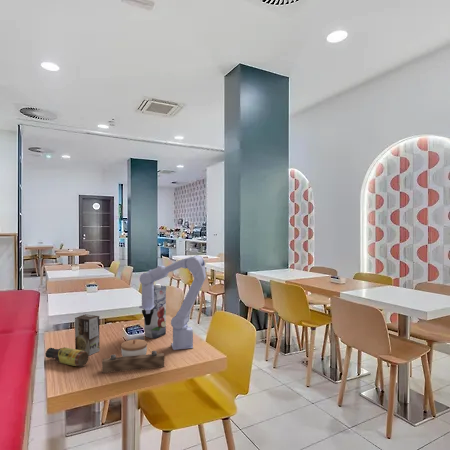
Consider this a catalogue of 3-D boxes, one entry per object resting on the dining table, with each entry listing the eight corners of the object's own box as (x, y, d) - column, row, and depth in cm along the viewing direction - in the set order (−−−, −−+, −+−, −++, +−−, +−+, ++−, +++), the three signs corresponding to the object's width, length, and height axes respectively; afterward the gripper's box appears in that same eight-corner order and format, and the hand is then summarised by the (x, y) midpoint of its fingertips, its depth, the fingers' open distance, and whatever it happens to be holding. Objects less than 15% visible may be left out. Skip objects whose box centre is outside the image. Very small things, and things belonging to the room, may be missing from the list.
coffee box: (100, 350, 155) (100, 315, 155) (89, 355, 149) (89, 319, 149) (85, 347, 159) (85, 313, 159) (74, 352, 153) (74, 317, 153)
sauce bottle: (77, 356, 134) (40, 350, 141) (79, 370, 135) (42, 364, 142) (89, 347, 140) (53, 342, 147) (91, 361, 141) (55, 355, 148)
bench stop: (163, 363, 141) (163, 349, 141) (164, 366, 138) (164, 352, 138) (103, 369, 135) (102, 354, 135) (102, 373, 132) (102, 357, 132)
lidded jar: (116, 365, 139) (115, 343, 139) (129, 355, 149) (129, 334, 149) (139, 368, 136) (139, 345, 136) (151, 358, 147) (151, 336, 147)
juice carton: (141, 336, 174) (141, 284, 174) (156, 331, 183) (155, 281, 183) (154, 340, 169) (154, 286, 169) (168, 334, 178) (168, 283, 178)
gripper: (139, 294, 169) (139, 321, 169) (139, 300, 155) (139, 330, 155) (153, 293, 171) (153, 320, 171) (154, 299, 157) (154, 328, 157)
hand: (147, 324), depth 163 cm, fingers closed
